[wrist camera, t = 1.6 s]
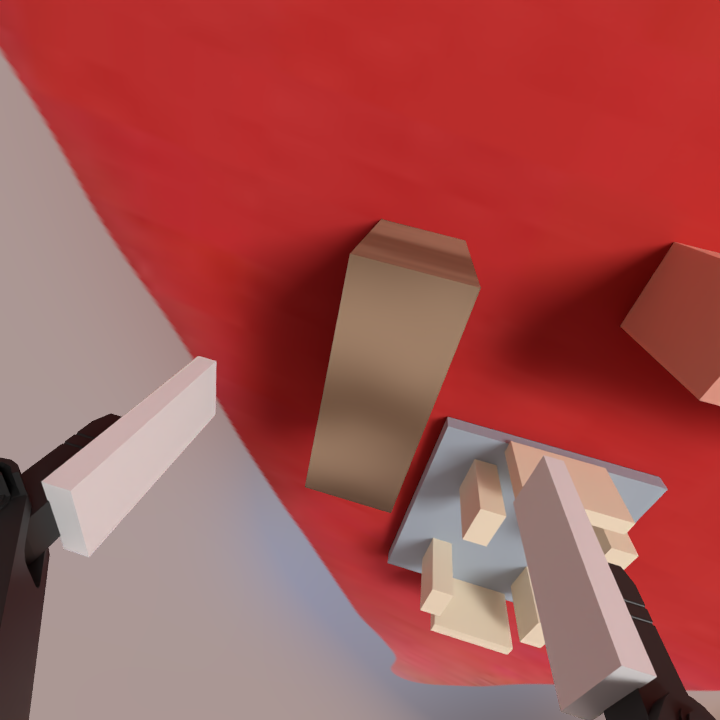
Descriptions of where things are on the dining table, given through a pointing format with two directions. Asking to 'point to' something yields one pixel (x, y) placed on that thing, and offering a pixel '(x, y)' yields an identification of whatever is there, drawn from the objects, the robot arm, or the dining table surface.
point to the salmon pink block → (682, 319)
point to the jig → (501, 529)
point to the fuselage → (389, 359)
